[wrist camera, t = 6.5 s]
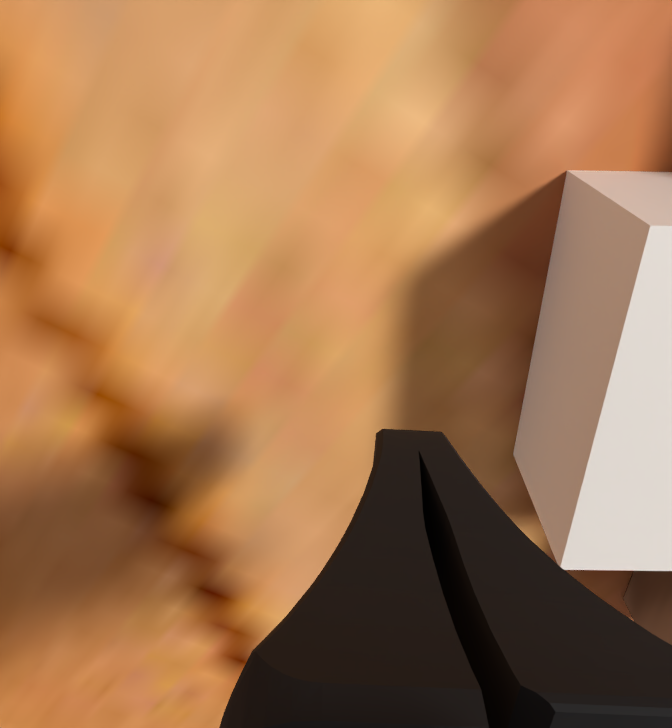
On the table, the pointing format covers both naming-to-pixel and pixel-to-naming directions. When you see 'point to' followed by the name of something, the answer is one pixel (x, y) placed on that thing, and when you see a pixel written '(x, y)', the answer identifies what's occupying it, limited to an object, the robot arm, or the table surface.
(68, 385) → the table surface
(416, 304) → the table surface
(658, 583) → the board
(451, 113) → the table surface
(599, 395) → the block
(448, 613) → the robot arm
